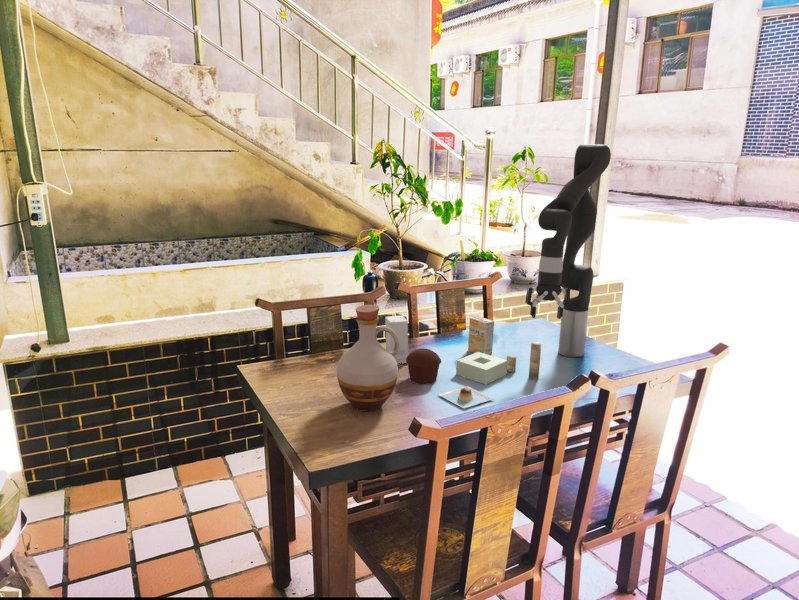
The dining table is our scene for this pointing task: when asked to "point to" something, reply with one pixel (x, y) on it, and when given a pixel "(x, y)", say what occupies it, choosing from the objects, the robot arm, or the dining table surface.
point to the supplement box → (481, 335)
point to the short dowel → (511, 363)
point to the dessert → (466, 395)
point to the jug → (368, 364)
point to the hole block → (481, 367)
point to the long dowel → (534, 360)
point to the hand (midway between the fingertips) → (546, 317)
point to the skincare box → (401, 330)
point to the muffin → (423, 366)
